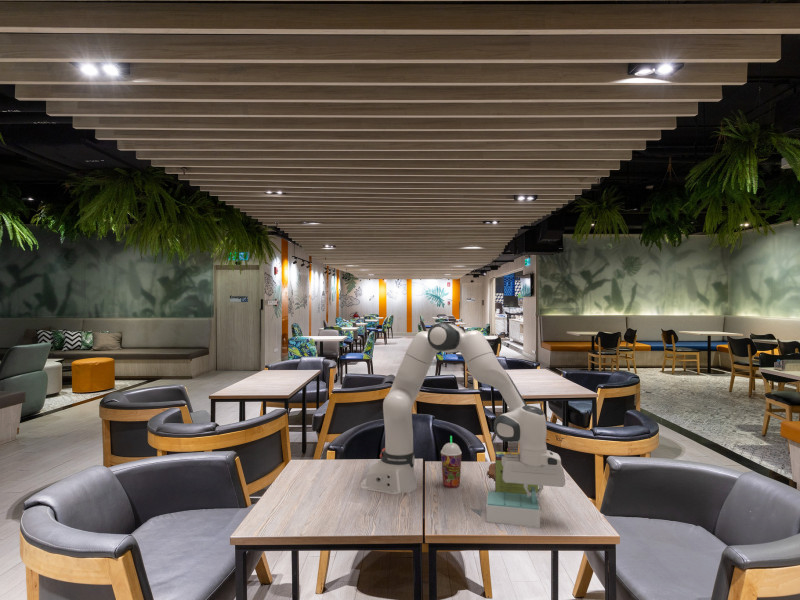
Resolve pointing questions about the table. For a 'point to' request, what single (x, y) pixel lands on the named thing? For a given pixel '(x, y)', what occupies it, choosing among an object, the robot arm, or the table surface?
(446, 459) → the smoothie
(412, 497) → the table surface
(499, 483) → the protein box
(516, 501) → the lid
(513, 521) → the tub
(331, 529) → the table surface
